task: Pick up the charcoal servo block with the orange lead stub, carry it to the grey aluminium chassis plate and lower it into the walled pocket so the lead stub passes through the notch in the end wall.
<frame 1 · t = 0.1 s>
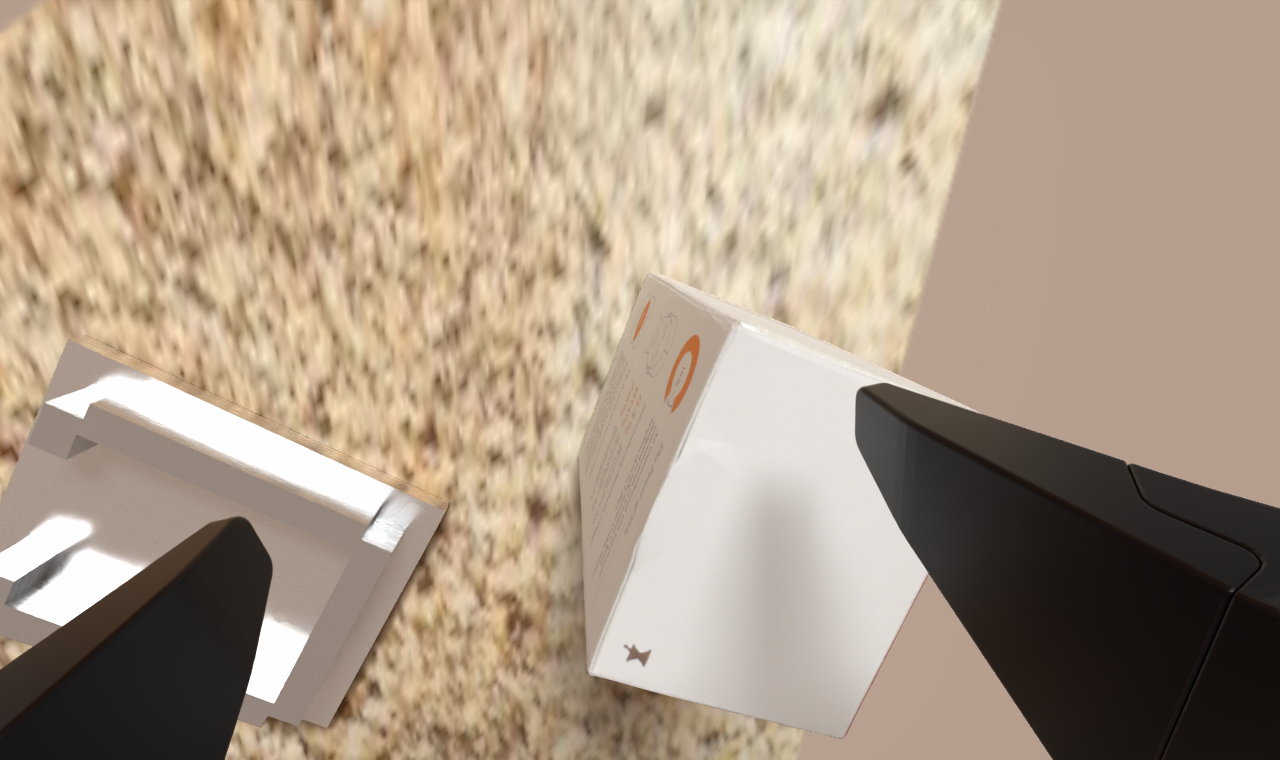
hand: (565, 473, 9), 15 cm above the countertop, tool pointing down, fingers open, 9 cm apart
small box: (683, 389, 26), on the countertop
chassis: (221, 542, 25), on the countertop
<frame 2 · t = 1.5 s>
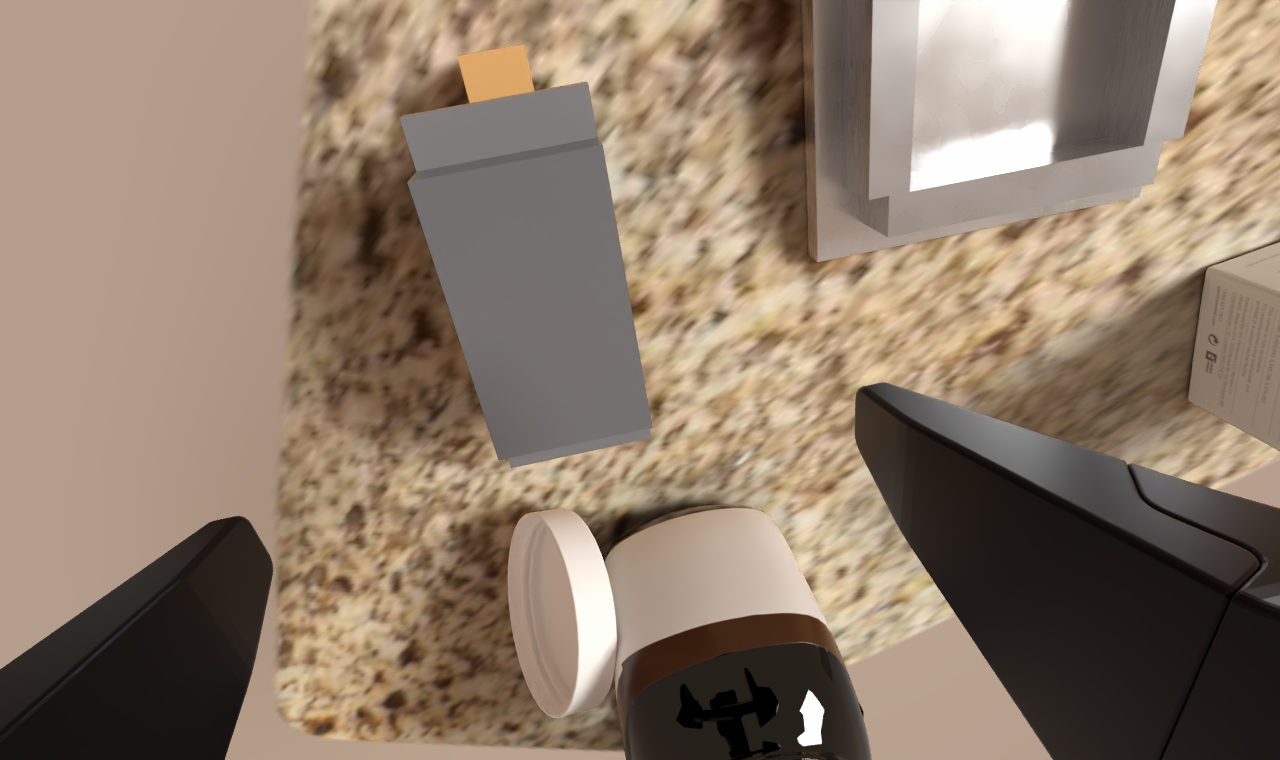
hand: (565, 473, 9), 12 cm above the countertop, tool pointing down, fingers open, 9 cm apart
servo: (542, 245, 20), on the countertop
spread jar: (647, 562, 27), on the countertop
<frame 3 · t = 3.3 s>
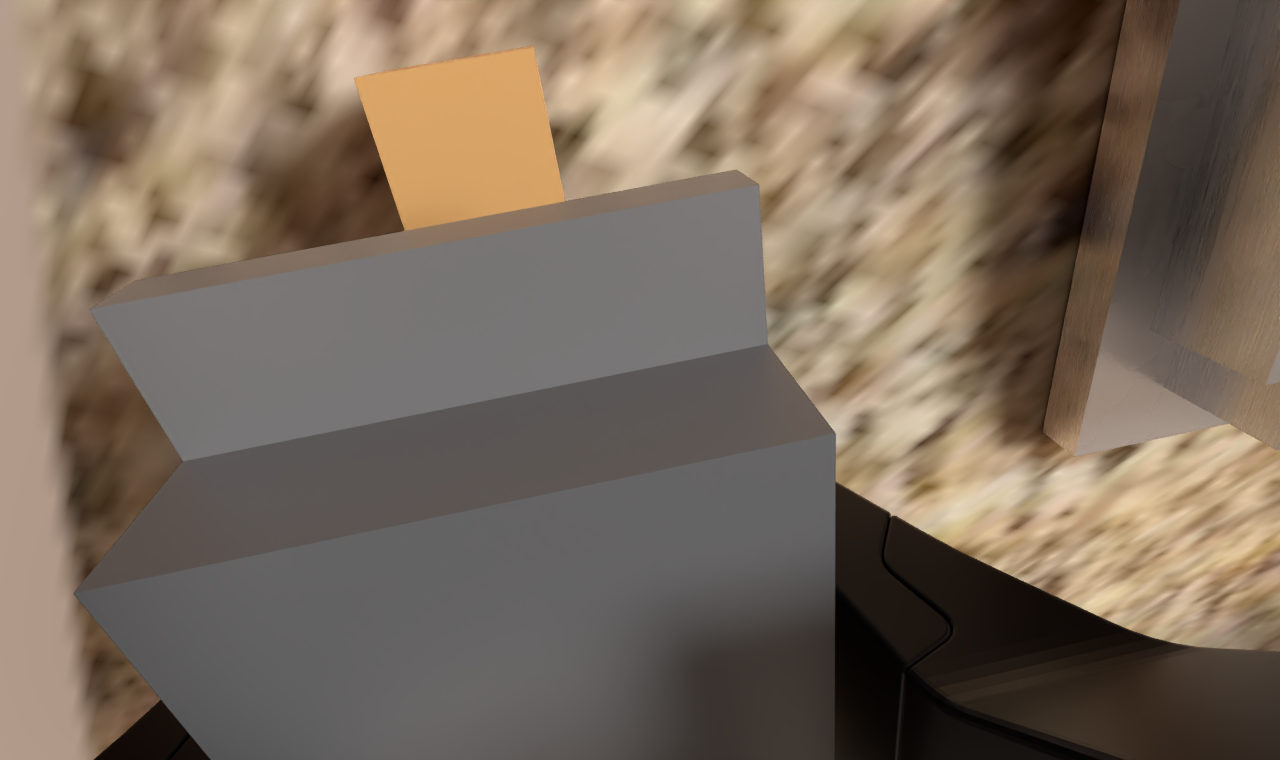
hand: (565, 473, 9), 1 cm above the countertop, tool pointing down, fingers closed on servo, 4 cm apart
servo: (562, 435, 10), on the countertop, touching gripper
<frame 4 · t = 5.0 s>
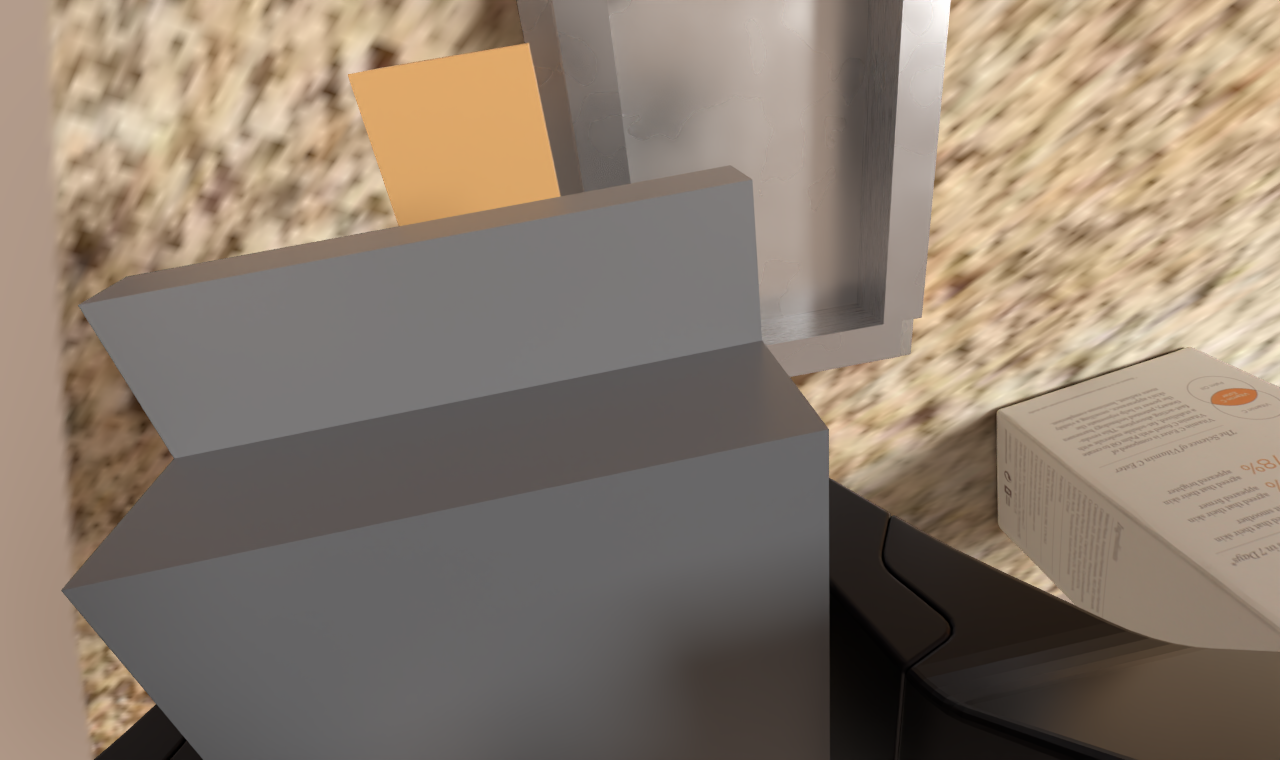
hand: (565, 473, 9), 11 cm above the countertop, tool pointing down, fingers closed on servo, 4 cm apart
servo: (559, 433, 10), point 10 cm above the countertop, touching gripper
small box: (1083, 436, 26), on the countertop
chassis: (737, 165, 19), on the countertop
when the fingers open (3 cm above the countertop, at t = 6.8 s): servo drops 2 cm, resting on chassis.
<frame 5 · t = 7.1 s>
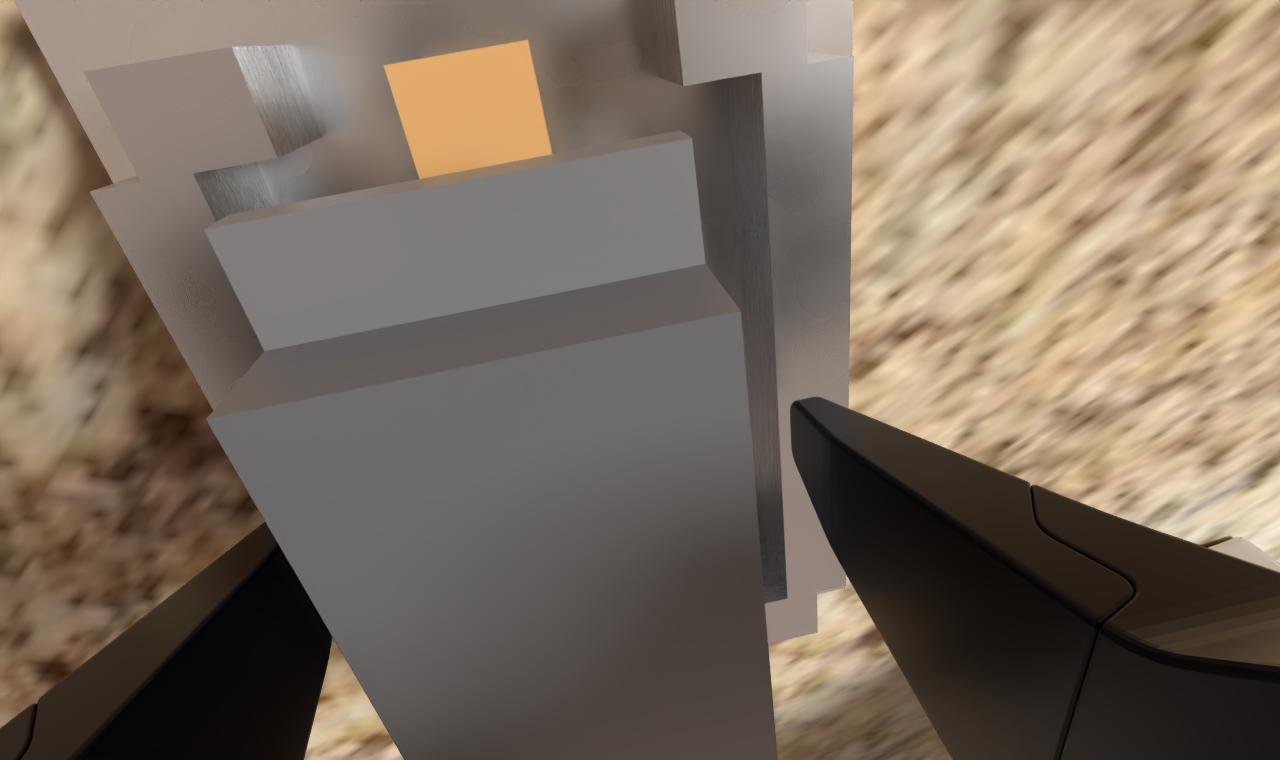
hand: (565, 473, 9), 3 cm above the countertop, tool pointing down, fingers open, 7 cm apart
servo: (556, 383, 12), point 1 cm above the countertop, touching chassis
small box: (1093, 639, 20), on the countertop
chassis: (558, 364, 12), on the countertop
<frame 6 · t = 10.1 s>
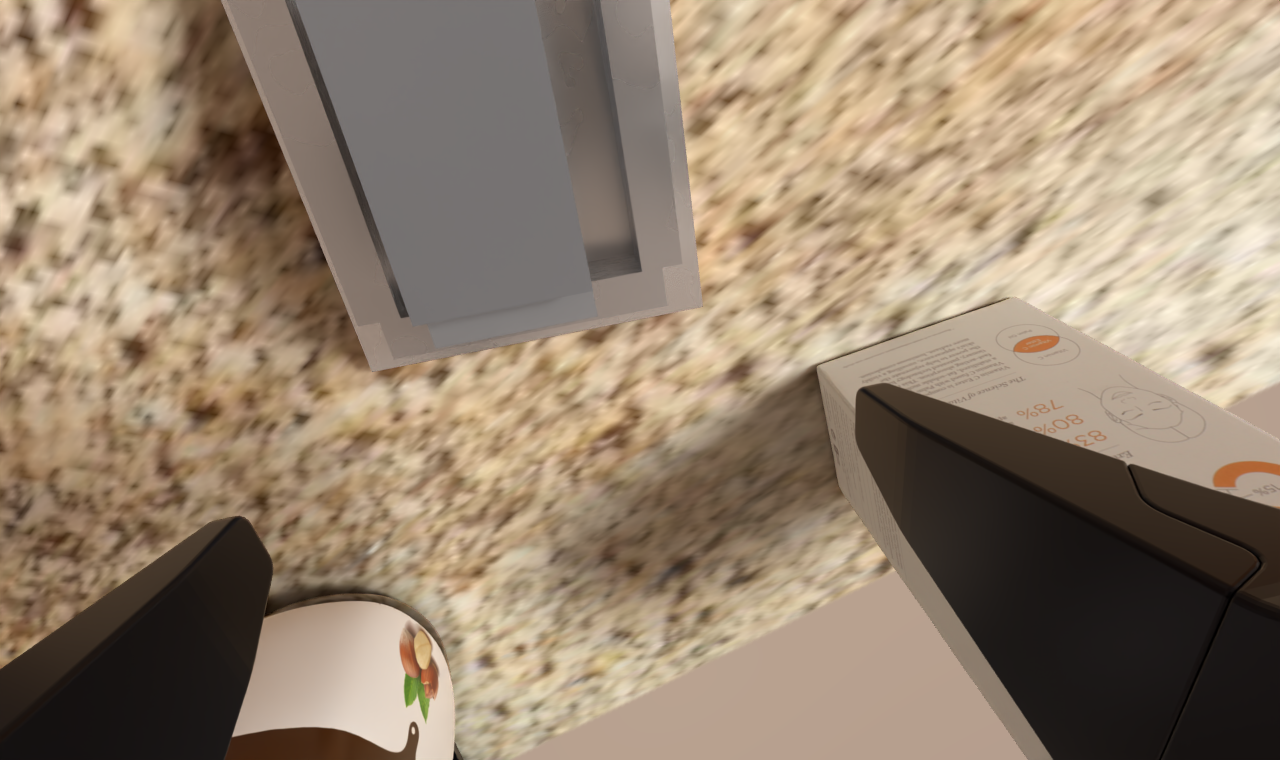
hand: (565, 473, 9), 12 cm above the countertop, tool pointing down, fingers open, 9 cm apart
servo: (480, 111, 18), point 1 cm above the countertop, touching chassis
small box: (918, 393, 26), on the countertop
chassis: (484, 108, 18), on the countertop
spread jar: (307, 643, 27), on the countertop
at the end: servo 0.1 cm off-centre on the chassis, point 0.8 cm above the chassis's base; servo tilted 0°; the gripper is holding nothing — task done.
